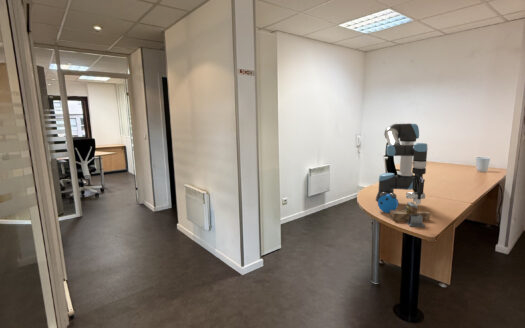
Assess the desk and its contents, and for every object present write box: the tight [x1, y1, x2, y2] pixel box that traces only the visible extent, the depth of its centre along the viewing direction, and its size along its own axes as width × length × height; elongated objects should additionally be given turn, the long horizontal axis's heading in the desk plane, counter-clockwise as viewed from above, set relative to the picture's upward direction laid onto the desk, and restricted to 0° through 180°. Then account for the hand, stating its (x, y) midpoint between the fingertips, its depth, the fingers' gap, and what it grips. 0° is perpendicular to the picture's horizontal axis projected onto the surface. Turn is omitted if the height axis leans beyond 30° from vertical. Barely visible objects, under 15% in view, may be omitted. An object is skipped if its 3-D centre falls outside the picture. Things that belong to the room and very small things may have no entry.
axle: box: [405, 191, 426, 200], centre depth 181 cm, size 10×4×4 cm, turn 81°
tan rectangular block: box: [404, 205, 410, 213], centre depth 192 cm, size 5×4×4 cm
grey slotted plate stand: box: [405, 215, 426, 228], centre depth 183 cm, size 8×9×6 cm
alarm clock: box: [377, 192, 399, 214], centre depth 208 cm, size 13×6×15 cm, turn 49°
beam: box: [389, 201, 431, 222], centre depth 193 cm, size 24×8×11 cm, turn 81°
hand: (416, 202), depth 181 cm, fingers closed on axle, 4 cm apart
